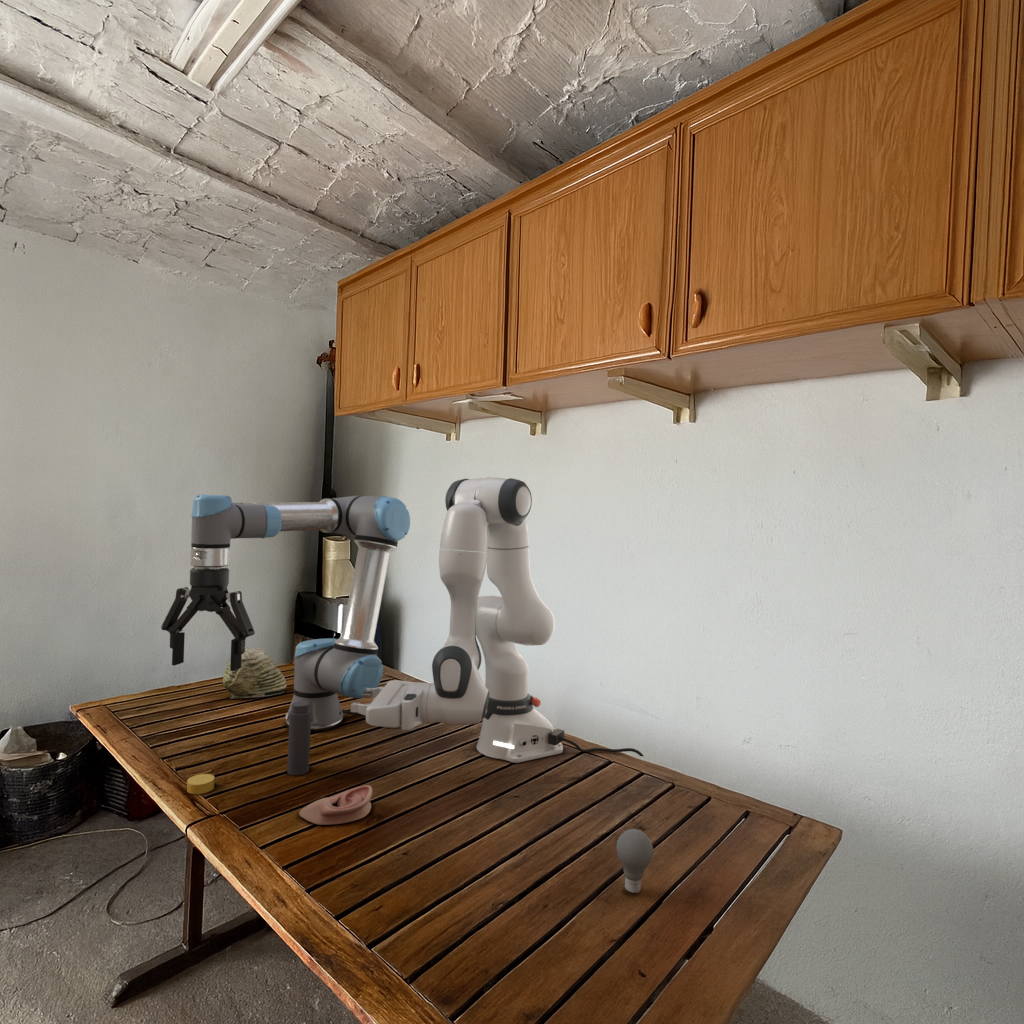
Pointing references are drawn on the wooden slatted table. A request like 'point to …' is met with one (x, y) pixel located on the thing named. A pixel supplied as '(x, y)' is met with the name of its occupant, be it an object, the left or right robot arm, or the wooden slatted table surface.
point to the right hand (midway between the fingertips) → (357, 699)
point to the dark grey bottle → (299, 738)
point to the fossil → (254, 676)
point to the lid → (200, 784)
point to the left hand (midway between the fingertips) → (206, 666)
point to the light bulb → (634, 857)
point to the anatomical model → (339, 807)
